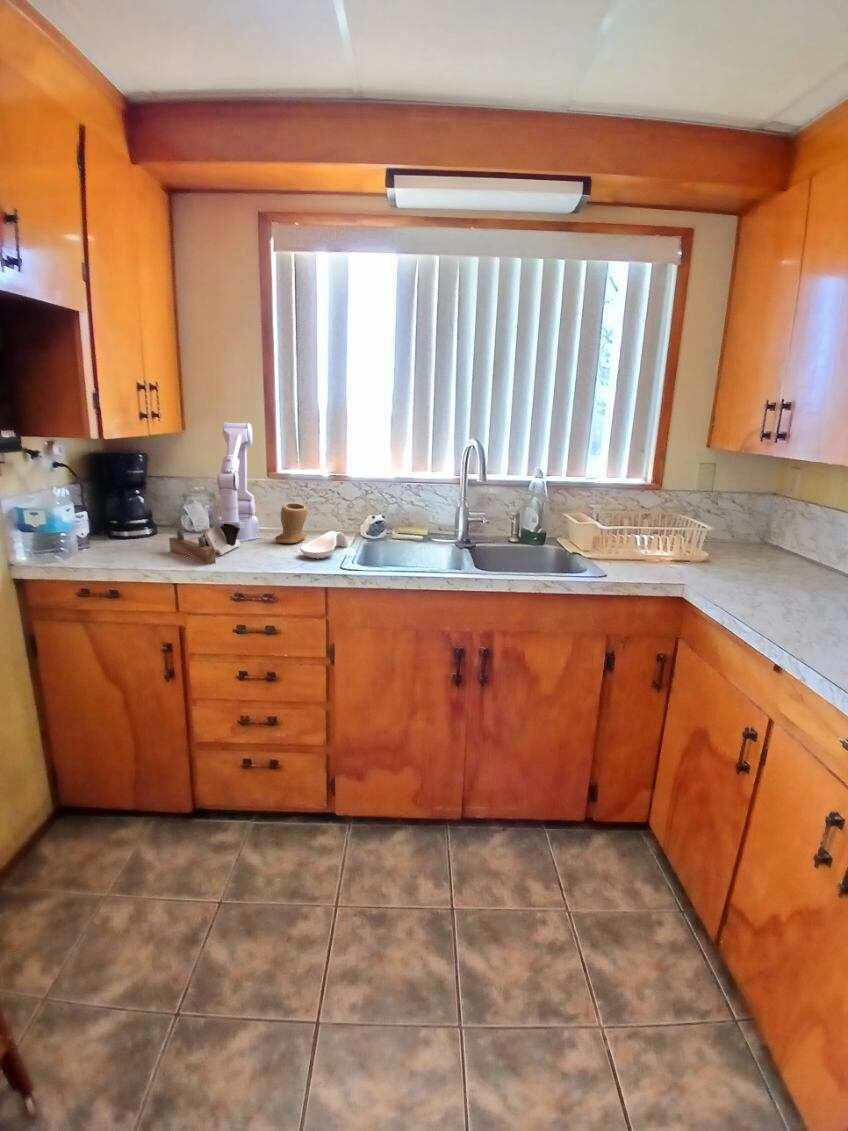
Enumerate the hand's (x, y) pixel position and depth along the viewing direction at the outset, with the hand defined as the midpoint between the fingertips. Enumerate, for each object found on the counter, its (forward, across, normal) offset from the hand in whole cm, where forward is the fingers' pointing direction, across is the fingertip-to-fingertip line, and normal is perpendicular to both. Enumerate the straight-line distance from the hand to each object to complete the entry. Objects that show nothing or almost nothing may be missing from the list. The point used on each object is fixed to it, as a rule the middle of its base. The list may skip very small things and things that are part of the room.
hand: (231, 545), depth 202 cm
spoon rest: (+2, +26, +22) cm, 34 cm away
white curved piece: (+2, -2, -3) cm, 4 cm away
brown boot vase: (+2, +2, +26) cm, 26 cm away
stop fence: (+2, 0, -15) cm, 15 cm away
